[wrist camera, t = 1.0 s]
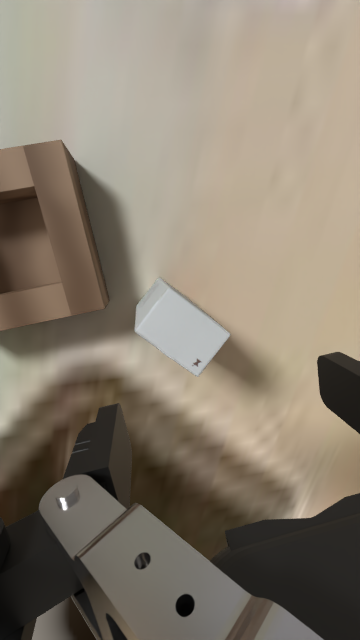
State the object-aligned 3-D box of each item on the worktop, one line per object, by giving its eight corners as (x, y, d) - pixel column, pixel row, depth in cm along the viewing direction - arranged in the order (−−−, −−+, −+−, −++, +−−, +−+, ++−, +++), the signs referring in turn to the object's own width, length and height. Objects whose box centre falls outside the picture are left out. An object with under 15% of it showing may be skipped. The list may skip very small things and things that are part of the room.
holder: (74, 159, 29) (61, 139, 24) (109, 300, 32) (104, 308, 27) (-80, 184, 27) (-126, 169, 22) (-26, 329, 31) (-57, 342, 26)
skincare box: (201, 308, 33) (234, 335, 22) (177, 337, 34) (198, 380, 22) (158, 274, 32) (169, 285, 20) (134, 305, 32) (131, 333, 21)
